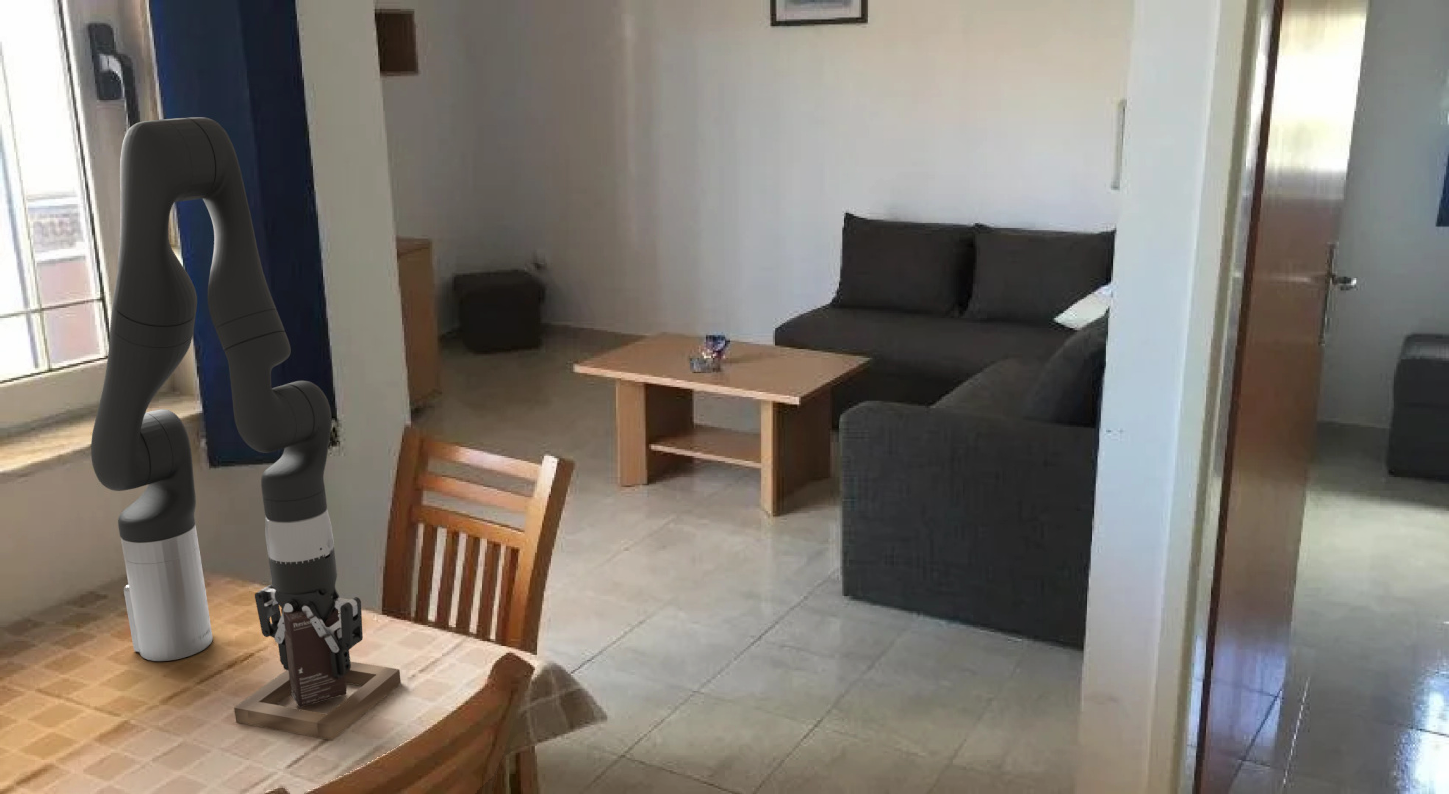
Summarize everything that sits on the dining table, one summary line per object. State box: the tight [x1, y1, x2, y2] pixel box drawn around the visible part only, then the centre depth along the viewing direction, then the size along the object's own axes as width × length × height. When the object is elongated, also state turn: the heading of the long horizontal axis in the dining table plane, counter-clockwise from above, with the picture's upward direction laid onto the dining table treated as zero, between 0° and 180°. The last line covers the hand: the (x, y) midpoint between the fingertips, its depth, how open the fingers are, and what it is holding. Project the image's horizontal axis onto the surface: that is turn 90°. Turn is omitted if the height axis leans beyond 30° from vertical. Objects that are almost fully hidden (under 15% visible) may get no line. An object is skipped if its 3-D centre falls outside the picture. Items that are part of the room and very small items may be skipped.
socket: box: [233, 660, 402, 741], centre depth 147 cm, size 14×14×2 cm
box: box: [280, 608, 347, 709], centre depth 146 cm, size 6×4×12 cm
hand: (316, 671), depth 146 cm, fingers closed on box, 6 cm apart
